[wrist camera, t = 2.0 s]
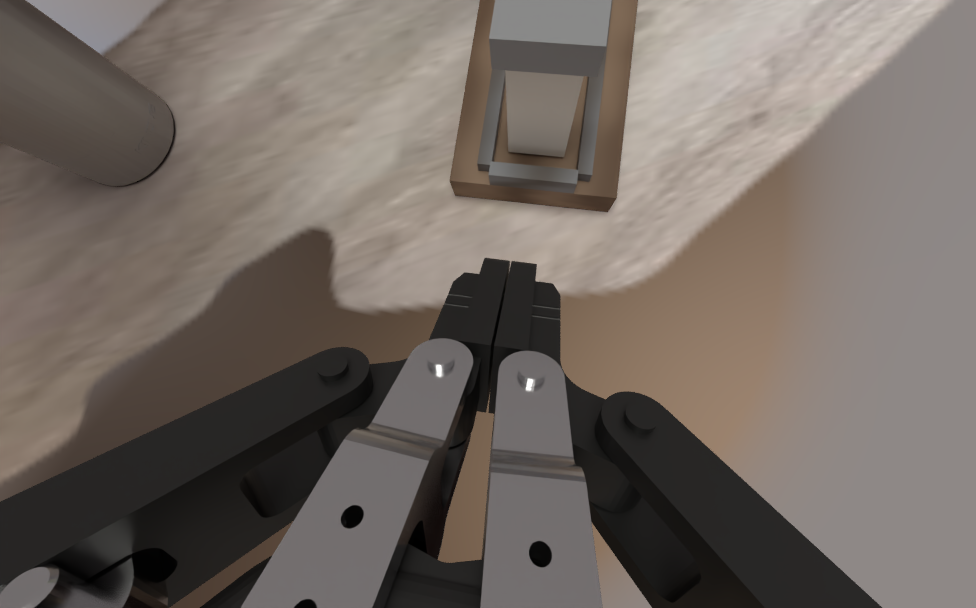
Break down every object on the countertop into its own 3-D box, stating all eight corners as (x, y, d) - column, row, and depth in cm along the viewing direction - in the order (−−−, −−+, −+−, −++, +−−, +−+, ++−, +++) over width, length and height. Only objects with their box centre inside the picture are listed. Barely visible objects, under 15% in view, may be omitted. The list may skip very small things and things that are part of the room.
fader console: (455, 195, 29) (445, 170, 25) (497, -62, 32) (495, -120, 28) (607, 211, 28) (622, 188, 24) (637, -57, 31) (654, -116, 27)
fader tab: (499, 157, 27) (488, 38, 17) (506, 106, 27) (501, -39, 17) (571, 164, 26) (606, 46, 16) (578, 112, 27) (615, -33, 17)
